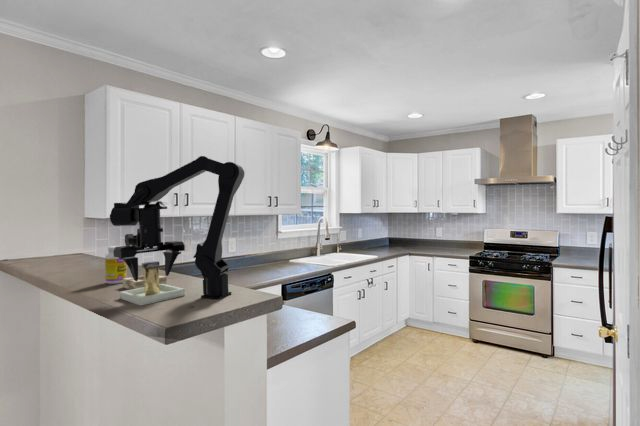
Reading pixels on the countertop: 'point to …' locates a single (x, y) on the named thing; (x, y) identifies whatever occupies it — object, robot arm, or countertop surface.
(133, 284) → the wooden square frame
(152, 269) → the spice jar
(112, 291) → the countertop surface
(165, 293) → the tray
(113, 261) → the supplement bottle
